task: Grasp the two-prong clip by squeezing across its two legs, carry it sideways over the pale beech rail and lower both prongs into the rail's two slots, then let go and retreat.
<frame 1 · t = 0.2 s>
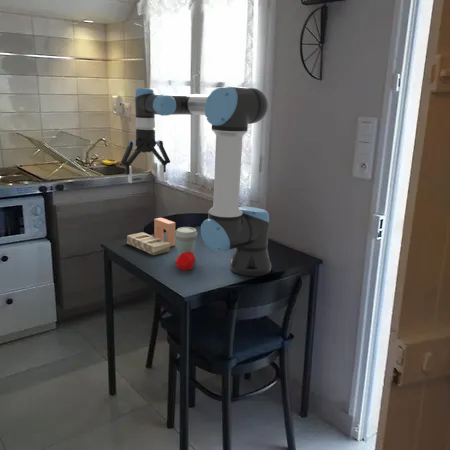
hand: (146, 181, 197), 27 cm above the table, fingers open, 13 cm apart
coffee cup: (186, 259, 187), on the table
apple: (185, 268, 178), on the table
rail: (148, 247, 199), on the table
clip: (164, 243, 205), on the table
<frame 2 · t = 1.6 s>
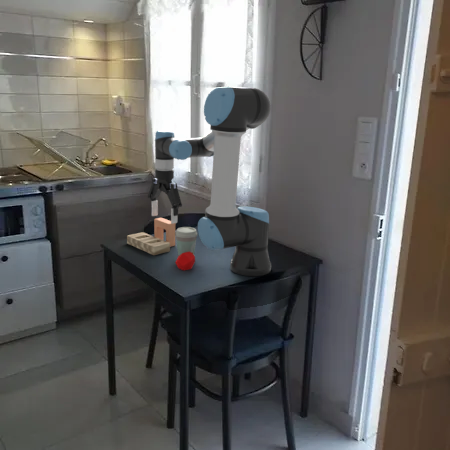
hand: (164, 219, 202), 11 cm above the table, fingers open, 13 cm apart
nothing on the table moved.
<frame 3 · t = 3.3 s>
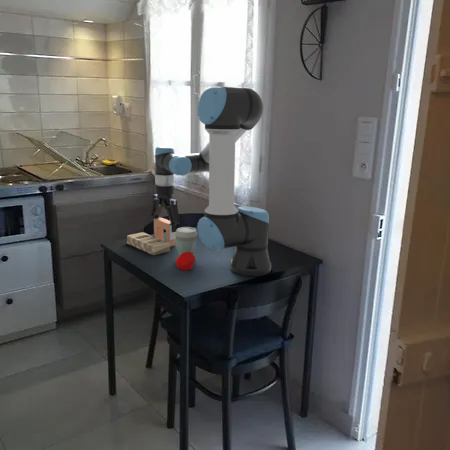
hand: (164, 236, 204), 3 cm above the table, fingers closed on clip, 10 cm apart
clip: (164, 243, 205), on the table, touching gripper
everything else where it was.
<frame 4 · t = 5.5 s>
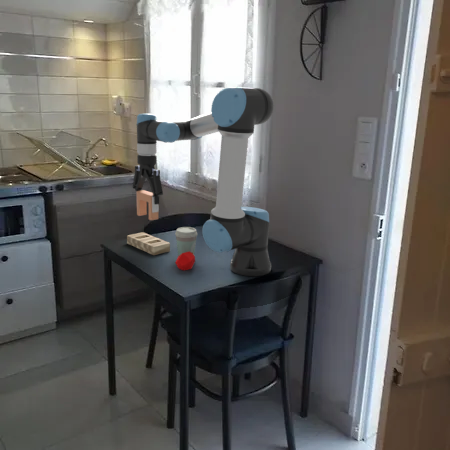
hand: (147, 209, 195), 16 cm above the table, fingers closed on clip, 10 cm apart
clip: (147, 216, 196), point 13 cm above the table, touching gripper
everything else where it was.
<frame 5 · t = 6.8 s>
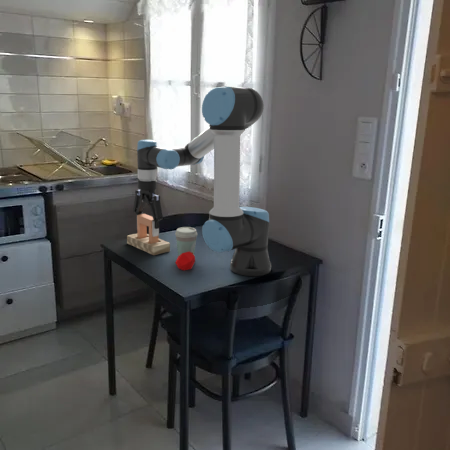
hand: (147, 232, 198), 6 cm above the table, fingers closed on clip, 10 cm apart
clip: (147, 240, 198), point 3 cm above the table, touching gripper
everything else where it was.
when the fingers open (5 cm above the table, at t = 7.9 s): clip drops 2 cm, on the table.
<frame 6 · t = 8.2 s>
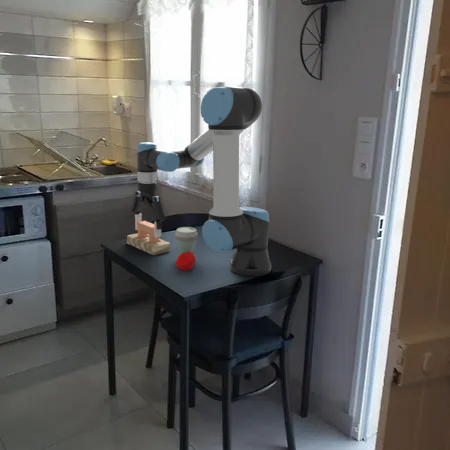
hand: (148, 232, 197), 6 cm above the table, fingers open, 13 cm apart
clip: (148, 247, 199), on the table
everything else where it was.
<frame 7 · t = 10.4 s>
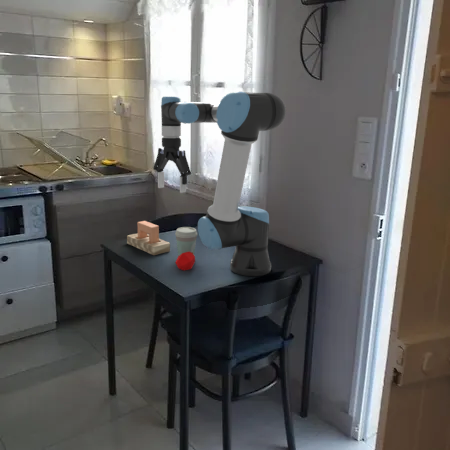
hand: (171, 190, 195), 24 cm above the table, fingers open, 13 cm apart
nothing on the table moved.
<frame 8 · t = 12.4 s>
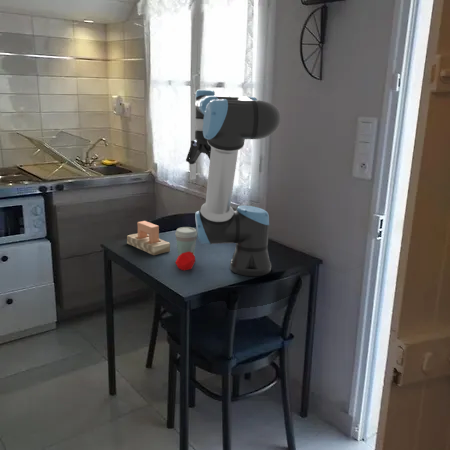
hand: (203, 182, 199), 27 cm above the table, fingers open, 13 cm apart
nothing on the table moved.
at the end: clip 0.1 cm off-centre on the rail, point 0.0 cm above the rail's base; clip tilted 0°; the gripper is holding nothing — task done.
